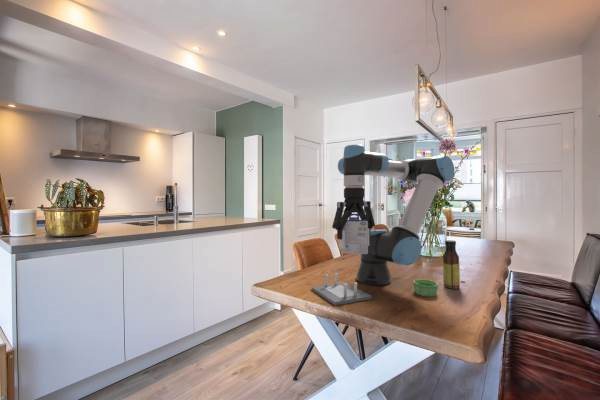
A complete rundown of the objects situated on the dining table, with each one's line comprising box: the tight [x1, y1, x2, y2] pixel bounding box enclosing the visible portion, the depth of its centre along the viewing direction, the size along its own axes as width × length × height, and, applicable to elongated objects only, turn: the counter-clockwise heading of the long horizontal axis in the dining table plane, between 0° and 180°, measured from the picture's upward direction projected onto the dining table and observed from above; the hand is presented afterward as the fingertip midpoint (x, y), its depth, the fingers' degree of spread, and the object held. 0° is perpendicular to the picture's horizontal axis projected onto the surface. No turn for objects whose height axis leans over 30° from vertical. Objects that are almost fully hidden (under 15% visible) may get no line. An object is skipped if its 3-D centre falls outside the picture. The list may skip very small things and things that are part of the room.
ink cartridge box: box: [340, 213, 368, 255], centre depth 106 cm, size 10×6×14 cm, turn 82°
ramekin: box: [412, 278, 439, 298], centre depth 113 cm, size 9×9×4 cm
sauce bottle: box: [442, 239, 461, 290], centre depth 121 cm, size 7×6×20 cm
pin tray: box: [311, 272, 373, 306], centre depth 111 cm, size 16×18×6 cm
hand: (354, 246), depth 106 cm, fingers closed on ink cartridge box, 11 cm apart
